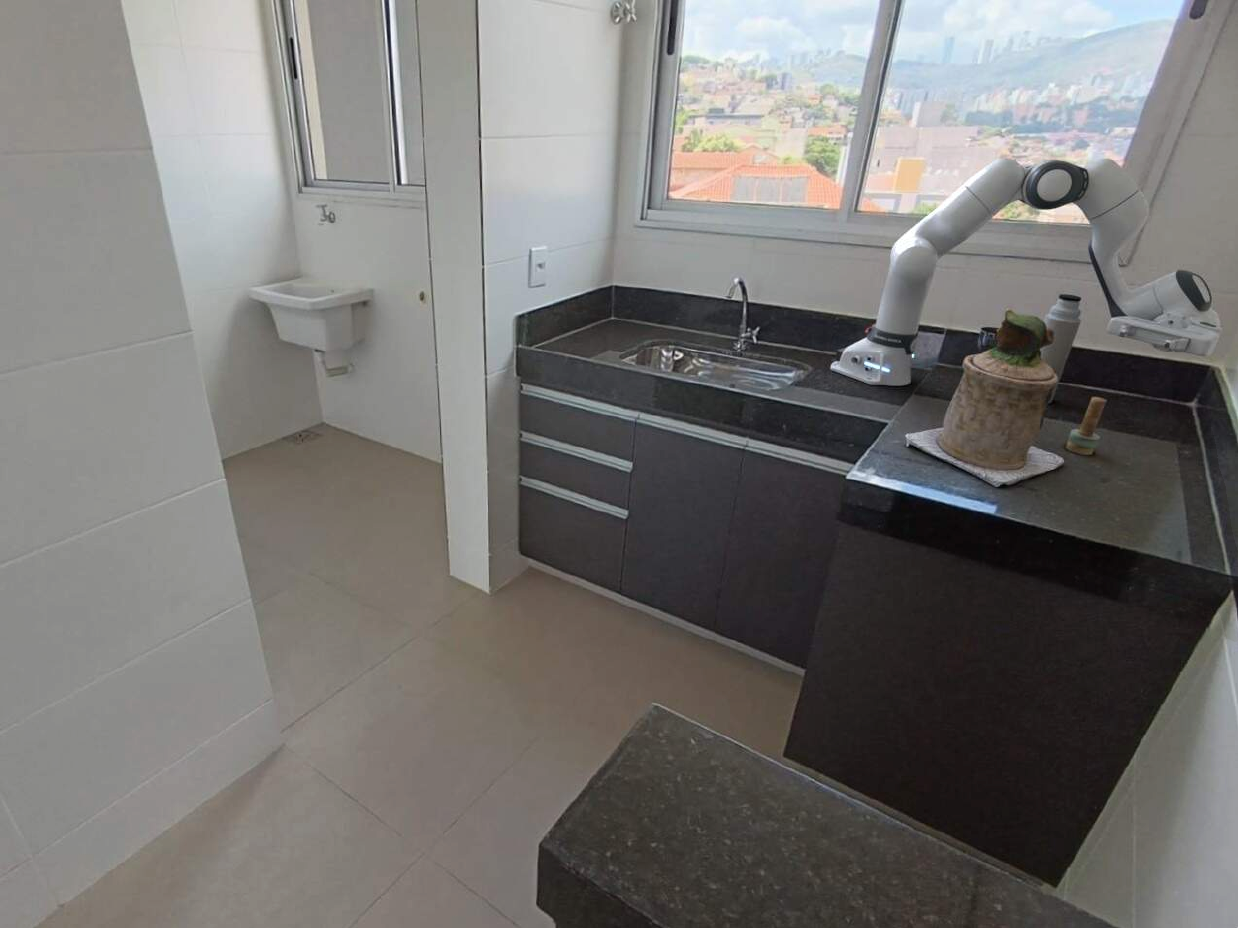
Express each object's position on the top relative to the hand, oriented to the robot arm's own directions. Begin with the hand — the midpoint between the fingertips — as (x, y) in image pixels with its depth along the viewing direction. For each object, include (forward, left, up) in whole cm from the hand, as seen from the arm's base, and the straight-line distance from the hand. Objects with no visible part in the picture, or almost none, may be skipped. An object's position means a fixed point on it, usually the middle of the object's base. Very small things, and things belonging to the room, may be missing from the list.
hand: (1144, 338), depth 149 cm
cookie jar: (-17, -32, -25) cm, 44 cm away
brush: (-3, -11, -25) cm, 27 cm away
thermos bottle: (-20, +19, -25) cm, 37 cm away
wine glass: (-35, +21, -25) cm, 48 cm away
